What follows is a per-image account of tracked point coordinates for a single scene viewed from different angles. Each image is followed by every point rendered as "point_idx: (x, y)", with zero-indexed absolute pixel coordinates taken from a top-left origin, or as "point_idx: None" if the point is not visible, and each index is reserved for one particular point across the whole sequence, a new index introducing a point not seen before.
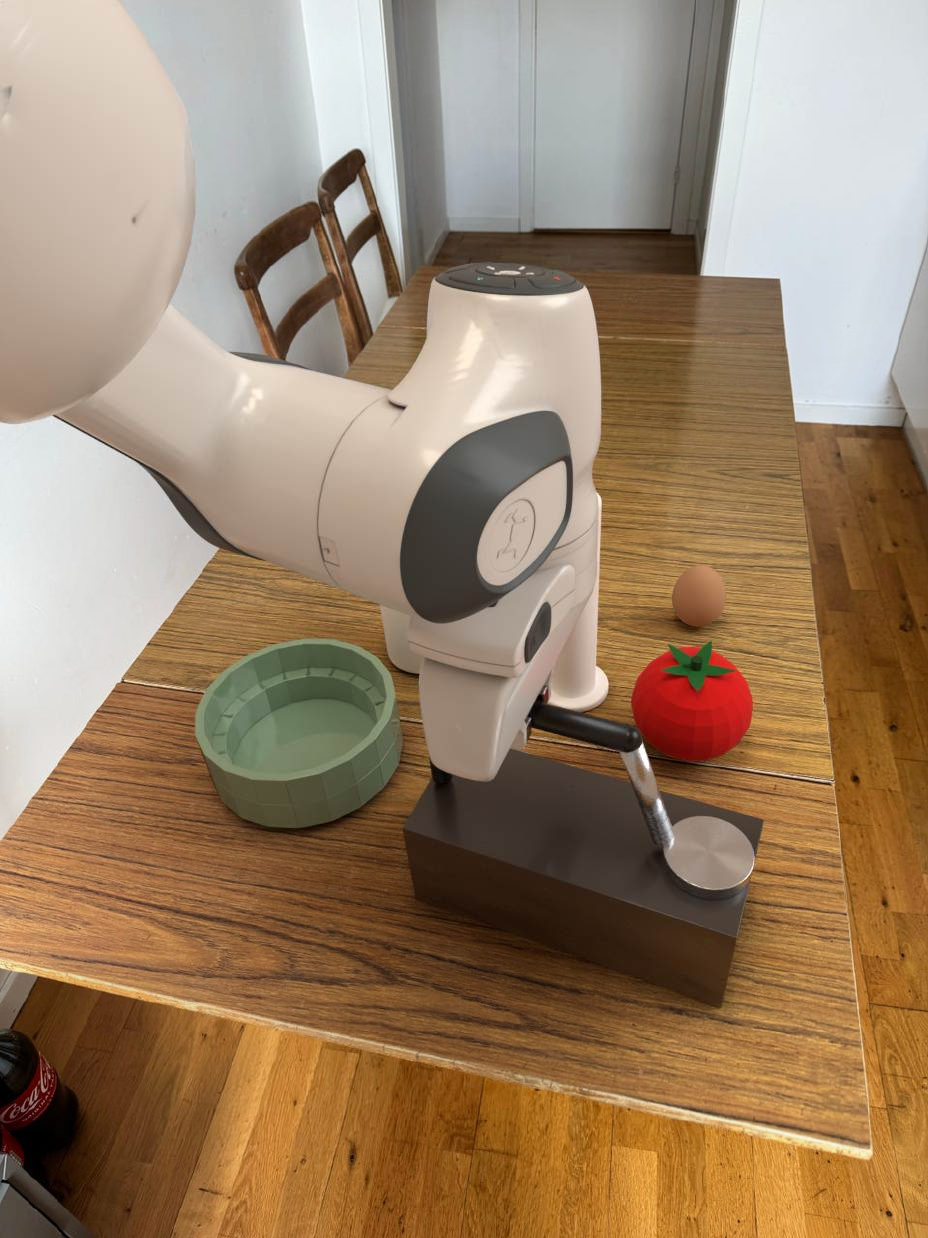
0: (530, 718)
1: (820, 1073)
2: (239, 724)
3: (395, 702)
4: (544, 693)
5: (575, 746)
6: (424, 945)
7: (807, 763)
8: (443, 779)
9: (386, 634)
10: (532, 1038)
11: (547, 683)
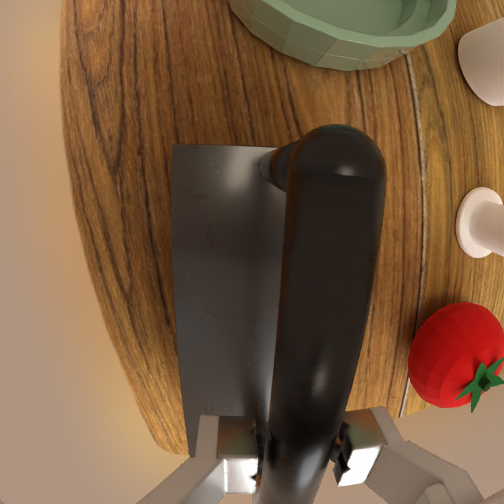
0: (253, 492)
1: (187, 444)
2: None
3: (406, 48)
4: (342, 485)
5: (421, 245)
6: (153, 183)
7: (415, 406)
8: (262, 176)
9: (483, 27)
10: (119, 301)
11: (369, 485)
